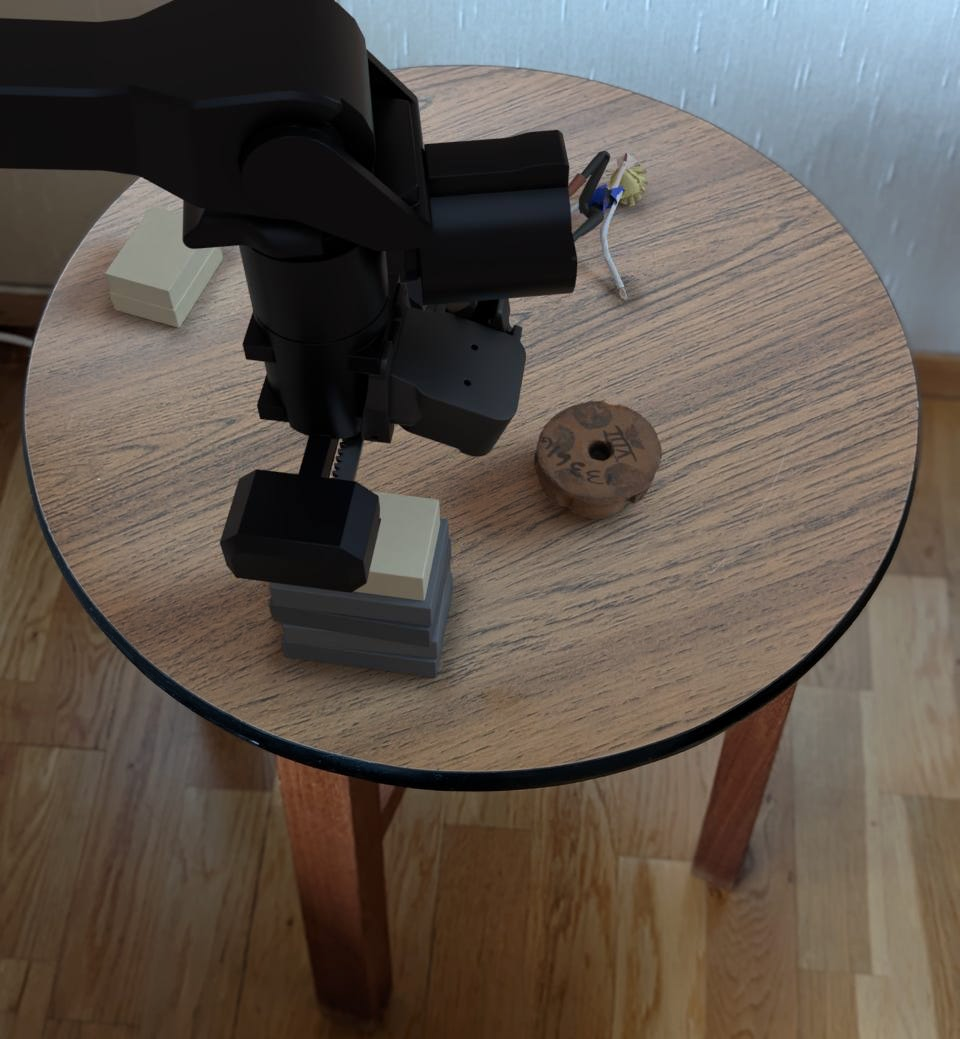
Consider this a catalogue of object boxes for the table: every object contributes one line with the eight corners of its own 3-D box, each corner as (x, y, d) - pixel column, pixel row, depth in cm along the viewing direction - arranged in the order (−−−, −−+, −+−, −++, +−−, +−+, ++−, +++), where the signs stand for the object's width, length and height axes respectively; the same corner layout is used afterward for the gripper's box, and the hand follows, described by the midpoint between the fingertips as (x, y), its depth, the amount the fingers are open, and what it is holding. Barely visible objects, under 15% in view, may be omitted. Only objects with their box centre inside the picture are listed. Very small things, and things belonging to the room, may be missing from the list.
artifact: (613, 427, 87) (620, 378, 83) (676, 512, 83) (687, 466, 79) (510, 473, 85) (512, 425, 81) (570, 562, 81) (575, 517, 77)
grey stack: (280, 659, 78) (261, 590, 71) (304, 567, 81) (288, 493, 75) (437, 681, 77) (433, 613, 70) (455, 587, 80) (453, 514, 74)
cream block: (277, 582, 71) (271, 558, 69) (298, 505, 74) (293, 480, 72) (424, 601, 71) (423, 578, 69) (440, 523, 73) (439, 499, 71)
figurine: (668, 269, 104) (542, 386, 90) (587, 194, 104) (448, 300, 91) (746, 176, 96) (619, 289, 83) (657, 96, 97) (517, 195, 83)
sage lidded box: (179, 328, 92) (169, 292, 89) (114, 310, 93) (102, 273, 90) (223, 258, 95) (215, 221, 92) (160, 241, 96) (150, 204, 93)
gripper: (478, 500, 49) (480, 686, 63) (541, 156, 60) (532, 378, 73) (187, 464, 50) (249, 654, 64) (297, 132, 60) (331, 355, 74)
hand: (352, 501), depth 68 cm, fingers open, 9 cm apart
